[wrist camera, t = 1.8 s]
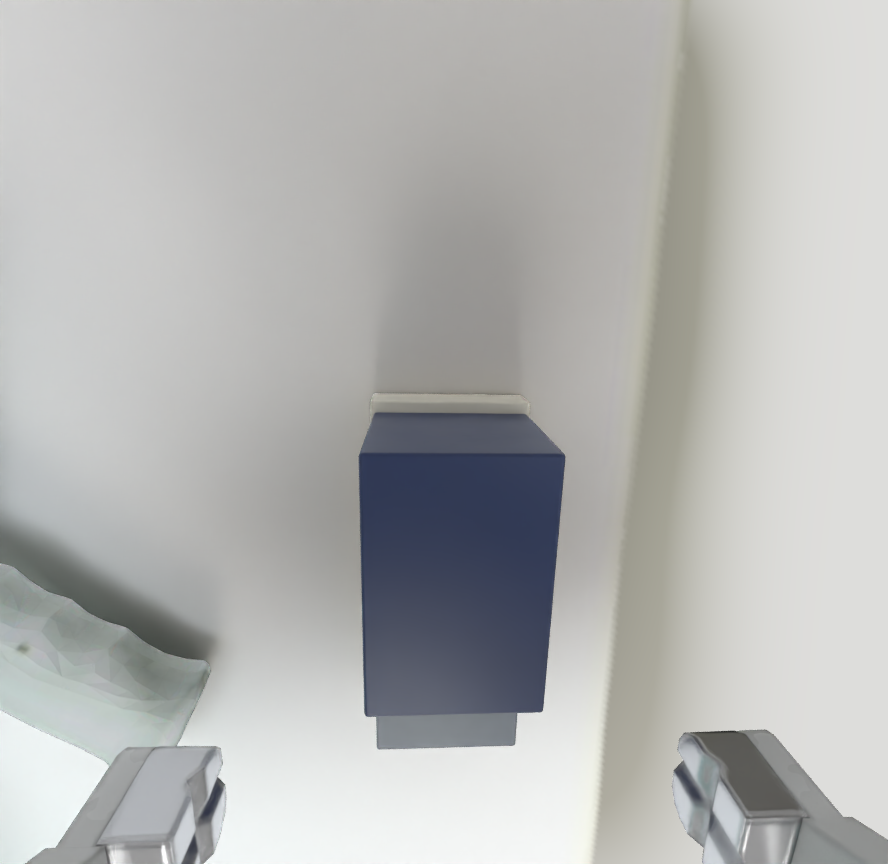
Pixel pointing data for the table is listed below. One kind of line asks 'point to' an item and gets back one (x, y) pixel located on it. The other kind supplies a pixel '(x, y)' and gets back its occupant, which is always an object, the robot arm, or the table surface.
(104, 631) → the tape dispenser
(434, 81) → the table surface
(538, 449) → the navy lidded box
